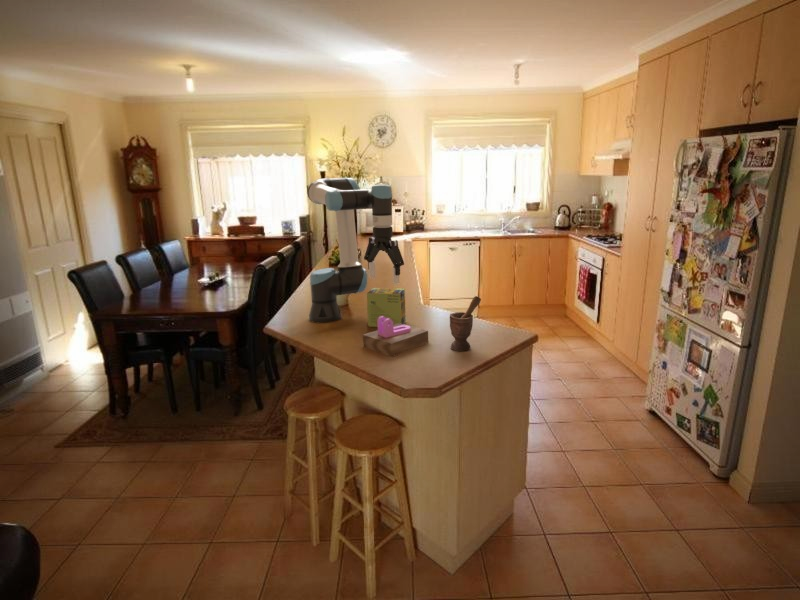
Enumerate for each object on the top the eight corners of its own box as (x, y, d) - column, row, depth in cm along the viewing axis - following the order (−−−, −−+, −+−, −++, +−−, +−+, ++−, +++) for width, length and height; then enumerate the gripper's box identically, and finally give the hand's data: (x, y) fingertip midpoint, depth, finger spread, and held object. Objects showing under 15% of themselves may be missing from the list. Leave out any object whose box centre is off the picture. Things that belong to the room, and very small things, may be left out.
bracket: (385, 337, 180) (384, 320, 178) (377, 334, 184) (377, 317, 182) (413, 331, 187) (412, 314, 185) (405, 327, 191) (404, 311, 189)
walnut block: (363, 346, 185) (362, 334, 184) (399, 334, 199) (399, 322, 198) (391, 356, 174) (391, 343, 173) (428, 342, 188) (428, 330, 187)
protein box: (401, 328, 207) (400, 293, 204) (367, 326, 211) (366, 292, 207) (406, 321, 217) (405, 288, 214) (373, 320, 220) (372, 287, 217)
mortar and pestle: (468, 341, 188) (468, 292, 183) (483, 347, 181) (484, 296, 176) (445, 347, 182) (445, 297, 177) (460, 353, 175) (460, 301, 170)
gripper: (353, 224, 186) (356, 277, 192) (398, 230, 169) (399, 287, 175) (368, 222, 192) (369, 274, 197) (413, 227, 175) (413, 283, 180)
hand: (384, 280), depth 186 cm, fingers open, 13 cm apart
